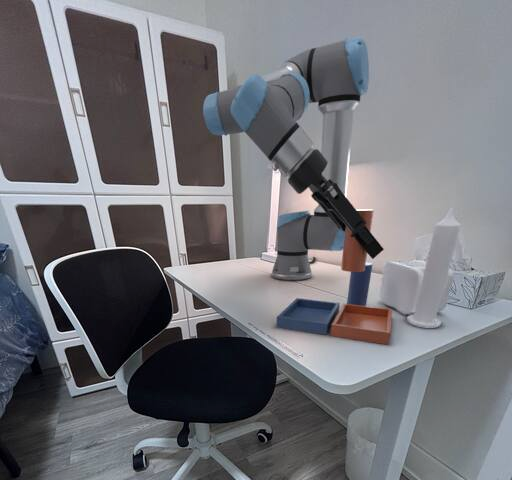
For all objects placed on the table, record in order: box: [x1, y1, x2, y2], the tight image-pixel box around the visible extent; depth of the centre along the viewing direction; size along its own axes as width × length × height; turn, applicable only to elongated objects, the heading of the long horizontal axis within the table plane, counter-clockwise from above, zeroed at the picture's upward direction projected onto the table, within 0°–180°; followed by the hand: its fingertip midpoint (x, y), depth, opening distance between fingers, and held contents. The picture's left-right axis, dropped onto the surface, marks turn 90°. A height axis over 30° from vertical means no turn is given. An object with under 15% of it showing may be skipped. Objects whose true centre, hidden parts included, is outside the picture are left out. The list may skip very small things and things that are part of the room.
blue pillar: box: [346, 261, 374, 306], centre depth 76 cm, size 5×5×12 cm
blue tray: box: [276, 297, 340, 336], centre depth 71 cm, size 16×12×3 cm
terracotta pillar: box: [340, 209, 374, 273], centre depth 61 cm, size 5×5×12 cm
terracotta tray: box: [330, 303, 393, 346], centre depth 67 cm, size 16×12×3 cm
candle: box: [406, 206, 461, 329], centre depth 64 cm, size 7×7×25 cm
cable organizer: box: [378, 259, 455, 316], centre depth 77 cm, size 15×11×12 cm
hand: (372, 251), depth 62 cm, fingers closed on terracotta pillar, 5 cm apart
